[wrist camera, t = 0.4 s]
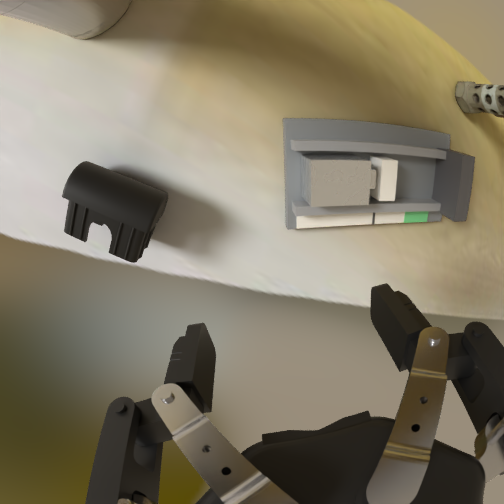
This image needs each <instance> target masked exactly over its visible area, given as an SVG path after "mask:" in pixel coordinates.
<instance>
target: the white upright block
mask: <svg viewBox="0 0 504 504" xmlns="http://www.w3.org/2000/svg"><path fill="white" fill-rule="evenodd" d="M370 161H371V168H372V169H374V170H376V186H375V189H370V194H369V195H371V196H372V197H374V198H375V199H377V200H378V201H395V193H396V181H397V168H398V161H397V160H394V159H391V158H388V157H384V156H370Z"/></svg>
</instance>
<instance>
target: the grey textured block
mask: <svg viewBox="0 0 504 504" xmlns="http://www.w3.org/2000/svg"><path fill="white" fill-rule="evenodd" d="M375 186H376V170H374V169H372V168H371V161H370V160H367V159H364V158H362V157H359V156H356V155H326V154H314V155H301V196H302V197H303V198H304V199H305V201H306V202H307V203H308V204H309V205H310V206H311V207H324V206H350V205H369V194H370V189H375Z"/></svg>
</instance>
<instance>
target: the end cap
mask: <svg viewBox="0 0 504 504" xmlns="http://www.w3.org/2000/svg"><path fill="white" fill-rule="evenodd" d="M62 197H63V198H66V199H68V200H69V204H68V210H67V216H66V222H65V229H64V232H65V233H67V234H69V235H71V236H73V237H75V238H77V239H79V240H82V241H84V242H86V241H87V237H88V232H89V227H90V225H91V223H92V222H94V223H96V224H98V225H101V226H102V225H103V224H105V225H107V226H108V228H109V229H110V231H111V234H112V241H111V245H110V249H109V253H111V254H113V255H115V256H117V257H120V258H122V259H124V260H127V261H129V262H133V263H134V262H137V261H138V259H139V258H141V257H142V254H143V251H144V249H145V248H147V247H148V244H149V241H150V238H151V236H152V234H153V231H154V228H155V225H156V223H157V221H158V220H159V218H160V217H161V216H162V214H163V212H164V210H165V207H166V203H167V200H168V194H167V193H166V192H163V191H161V190H159V189H156V188H154V187H151V186H149V185H146V184H144V183H141V182H139V181H136V180H134V179H131V178H129V177H126V176H124V175H121V174H119V173H116V172H114V171H111V170H109V169H106V168H103V167H101V166H98V165H96V164H93V163H91V162H88V161H86V162H82V163H80V164H79V165H78V166H77V167H76V168H75V169H74V170H73V172H72V173H71V175H70V176H69V178H68V180H67V182H66V185H65V188H64V191H63V195H62Z"/></svg>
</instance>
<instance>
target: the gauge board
mask: <svg viewBox="0 0 504 504" xmlns="http://www.w3.org/2000/svg"><path fill="white" fill-rule="evenodd" d="M283 137H284V165H285V208H286V227H287V229H301V228H316V227H332V226H349V225H367V224H387V223H410V222H433V221H441V218H442V215H444V216H446V217H447V218H449V219H451V220H452V221H454V222H457V221H466V218H467V213H468V208H469V202H470V195H471V189H472V181H473V172H474V162H475V157H473V156H470V155H467V154H464V153H460V152H457V151H453V150H450V134H445V133H440V132H435V131H430V130H425V129H419V128H413V127H406V126H399V125H392V124H384V123H375V122H365V121H353V120H337V119H310V118H283ZM314 154H326V155H356V156H359V157H362V158H364V159H367V160H370V156H384V157H388V158H391V159H394V160H397V161H398V168H397V181H396V193H395V201H378V200H377V199H375V198H374V197H372V196H371V195H369V205H350V206H324V207H311V206H310V205H309V204H308V203H307V202H306V201H305V199H304V198H303V197H302V196H301V155H314Z"/></svg>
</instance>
